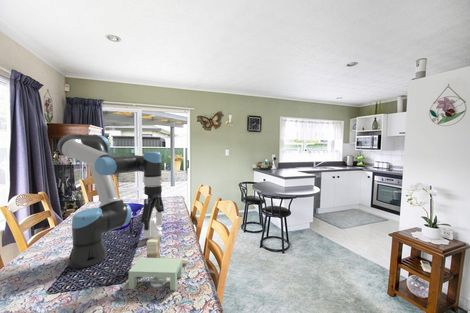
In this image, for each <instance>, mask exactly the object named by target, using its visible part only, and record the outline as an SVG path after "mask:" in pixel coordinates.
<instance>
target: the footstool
mask: <svg viewBox="0 0 470 313" xmlns="http://www.w3.org/2000/svg"><path fill="white" fill-rule="evenodd" d="M171 258H172V257H160V258H147V257H140V258H139V259H138V260H136V262H135V263H134V264H133V266H132V267H131V268H130V269H129V270H128V289H129V290H134V289H136V287H137V284H138V283H137V277H141V278H154V277H166V279H167V278H168V279H169V288H170V291H176V290H177V288H178V279H179V278H182V276H183V265H182V259H171Z"/></svg>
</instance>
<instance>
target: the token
mask: <svg viewBox="0 0 470 313" xmlns="http://www.w3.org/2000/svg"><path fill="white" fill-rule="evenodd" d="M166 284H167V278H166V277H152V278H151V280H150V286H151V288H153V289H159V288H162V287H164V286H165V285H166Z"/></svg>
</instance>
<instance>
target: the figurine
mask: <svg viewBox="0 0 470 313" xmlns="http://www.w3.org/2000/svg"><path fill="white" fill-rule="evenodd" d="M150 222H151V237H159V238H160V239H163V237H164V236H163V235H164V234H163V232H162V231H163V230H164V228H163V227H162V225H156V217H153V218H152V217H151V218H150ZM151 237H144V238H145V239H148V240H149V239H150V238H151Z"/></svg>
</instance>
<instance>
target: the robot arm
mask: <svg viewBox="0 0 470 313" xmlns="http://www.w3.org/2000/svg"><path fill="white" fill-rule="evenodd" d="M110 148H111V146H110V142H109V140H108V139H107V137H105V136H103V135H100V134H83V133H82V134H79V133H78V134H77V133H72V134H67V135H65V136H63V137H61V138H60V139H59V141H58V143H57V150H58V151H59V153H60V154H61V155H62V156H64V157H67V158H69V159H76V160H78V161H79V162H80V161H81V162H82V163H85V164H86V165H88V166H89V170H90V173H91V176H92V180H93V183H94V186H95V189H96V193H97V196H98V199H99V202H100V205H99V206H98V207H91V208H86V209H83V210H81V211H78V212H76V213H75V214H74V215H73V216H72V219H71V230H72V231H71V233H72V234H71V235H72V248H71V252H70V254H69V257H68V266H69V267H70V268H76V269H80V268H81V269H82V268H83V269H84V268H88V267H92V266H94V265H97V264H99V263H100V262H103V261H104V260H105V259H106V258H107V254H108V253H107V252H108V251H107V248H106V247H105V244H104V242H103V234H105V233H108V232H112V231H114V230H116V229H121V228H122V227H125V226H126V225H128V224H129V223H130V221H131V218H132V214H133V213H132V212H133V211H132V209H131V206H130V205H129V204H128V203H125V202H124V200H123V199H122V198H120V197H119V195H118V191H117V188H116V186H115V183H114V180H113V175H119V174H125V173H136V172H143V185H144V187H143V189H144V190H143V191H144V193H143V194H144V195H147V198H145V199H144V200H143V210H142V214H141V220H140V223H142V224H143V237H144V238H145V237H151V222H150V218H151V219H152V213H153V210H154V208H155V210H156V212H155V218H156V225H161V226H163V212H165V207H164V202H163V198H162V189H163V188H162V187H163V186H162V180H163V177H162V154H161V152H160V151H144V152H143V155H137V154H135V155H134V154H132V155H125V156H114V155H111V154H109V152H110Z"/></svg>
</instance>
